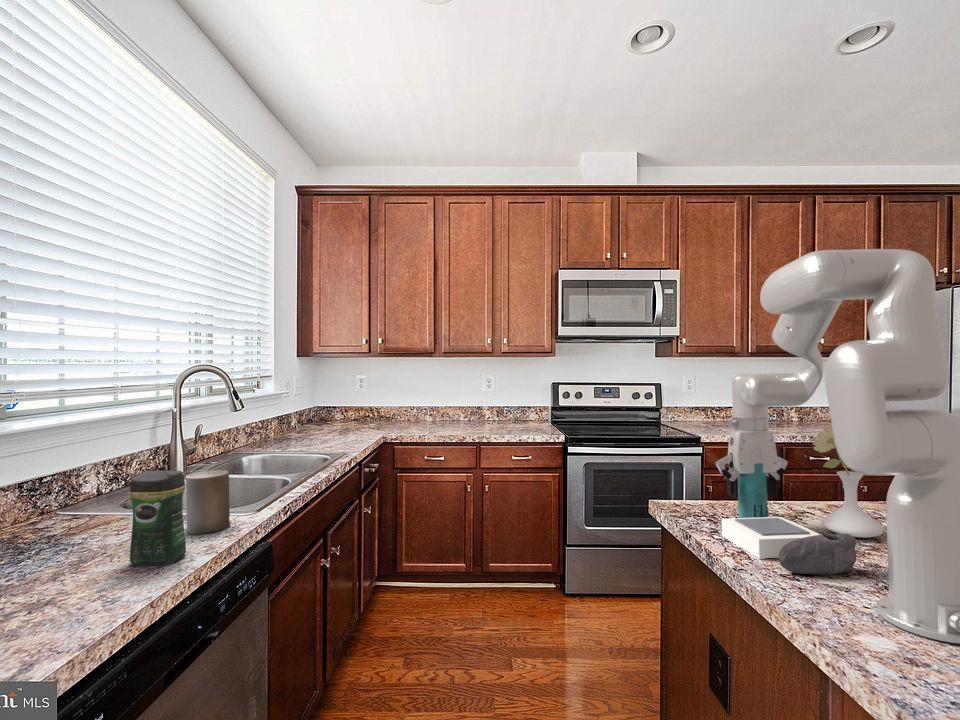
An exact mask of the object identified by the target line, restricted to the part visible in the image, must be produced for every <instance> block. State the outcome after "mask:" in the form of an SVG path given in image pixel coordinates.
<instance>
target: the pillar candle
mask: <svg viewBox="0 0 960 720" xmlns="http://www.w3.org/2000/svg"><path fill="white" fill-rule="evenodd" d="M185 491H186V492H185V493H186V494H185V496H186V497H185V501H186V507H185V508H186V511H185V514H186V533H188V534H191V535H203V534H210V533H211V534H212V533H214V532H220V531H223V530H225V529H226V530H227V528H229V527H230V526H231V523H230V518H231V517H230V515H231V514H230V513H231V512H230V473H229V471H228V470H223V469H222V470H221V469H217V470H210V469H209V468H207V470H206V471H200V472H194V473H191V474H188V475H186V476H185Z"/></svg>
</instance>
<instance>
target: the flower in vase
mask: <svg viewBox="0 0 960 720" xmlns="http://www.w3.org/2000/svg"><path fill="white" fill-rule="evenodd" d="M812 445H813V450H814V451H816V452H819V453H826V452H829V451H831V449H835V451H836V454H837V456H838V459H837V458H831V459H830V460H827V461H826V462H825V463H824V464H823V465H822V467H824V468H827V469H834V468H836V467H837V466H839V464H840V463H841V465H842V466H843V468H844V470H840V471H836V475H838V477H839V478H840V480H841V482H842V487H843V491H844V492H843V493H844V501H843V504H842V505H841V507H838V509H835V510H834V511H832V512H830V513H829V514H827V515H826V516H824V517H823V518H822V521H821V524H822V526H823V527H824V528H825V529H827V530H828V531H830V532H833V533H834V534H850V535H851V536H853V537H854V538H863V539H864V538H865V539H866V538H875V537H879V536H881V535H882V534H883V533H884V529H883V527H882V525H881V524H880V523H879V522H878V521H876V519H874V518H873V517H871V516H870V515H869V514H867V513H866V512H865V511H864V510H862V508H860V506H859V503H858V498H857V497H858V496H857V495H858V493H857V491H858V486H859V482H860V481H861V479H862V477H864V474H861V473H858V472H855V471H849V470H848V469H850V468H849V467H848V466H847V465H846V464H845V463H844V462H843V461H842V459H841V458H840V456H839V454H838V451H837V448H836V445H835V440H834V435H833V429H832V425H829V424H828V425H827V427H825V428H824V429H823V430H822V431H821V432H819V433H817V437H816V438H815V439H814V440H813V442H812Z"/></svg>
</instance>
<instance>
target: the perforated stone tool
mask: <svg viewBox="0 0 960 720" xmlns="http://www.w3.org/2000/svg"><path fill="white" fill-rule="evenodd" d="M856 544H857V540H856V537H853V536H851V535H850V534H838V533H828V534H826V533H823V534H821V535H815V536H809V537H804V538H800V539H797V540H794V541H791V542H789V543H787V544H786V545H784V546H783V547H782V549H781V550H780V552H779V559H778V562H779V564H780V566H781V567H782V568H783V569H785V570H786V571H788V572H790V573H794V574H798V575H809V574H811V575H815V576H816V575H817V576H818V575H819V576H823V575H824V576H825V575H826V576H827V575H828V576H829V575H830V576H831V575H837V574H842V573H851V572H853V571H854V566H855V563H856V561H857V551H856V546H857V545H856Z"/></svg>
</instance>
